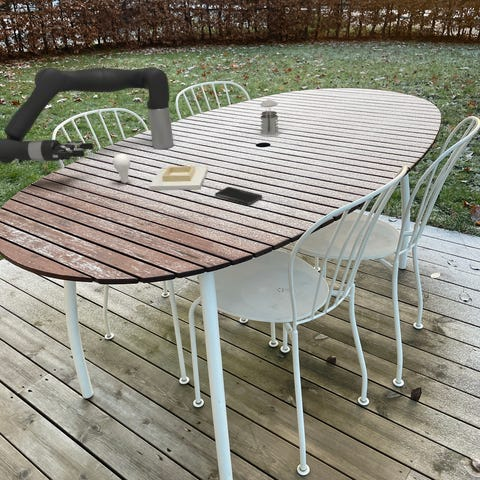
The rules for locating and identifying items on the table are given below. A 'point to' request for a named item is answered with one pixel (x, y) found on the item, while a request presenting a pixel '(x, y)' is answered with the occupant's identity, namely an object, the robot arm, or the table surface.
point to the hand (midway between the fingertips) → (88, 149)
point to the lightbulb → (122, 166)
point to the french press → (269, 118)
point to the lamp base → (179, 178)
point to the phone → (238, 196)
